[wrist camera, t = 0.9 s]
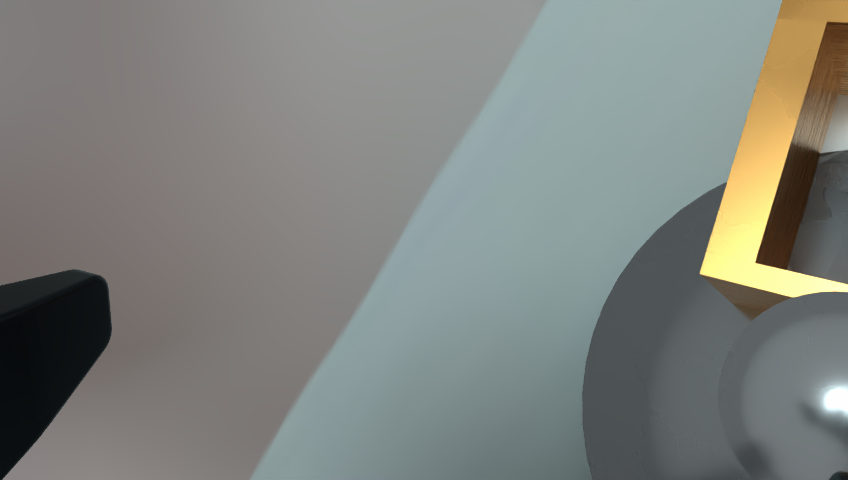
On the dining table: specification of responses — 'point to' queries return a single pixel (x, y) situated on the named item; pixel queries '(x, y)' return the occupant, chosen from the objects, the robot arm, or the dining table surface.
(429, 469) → the dining table surface
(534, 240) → the dining table surface
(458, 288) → the dining table surface
